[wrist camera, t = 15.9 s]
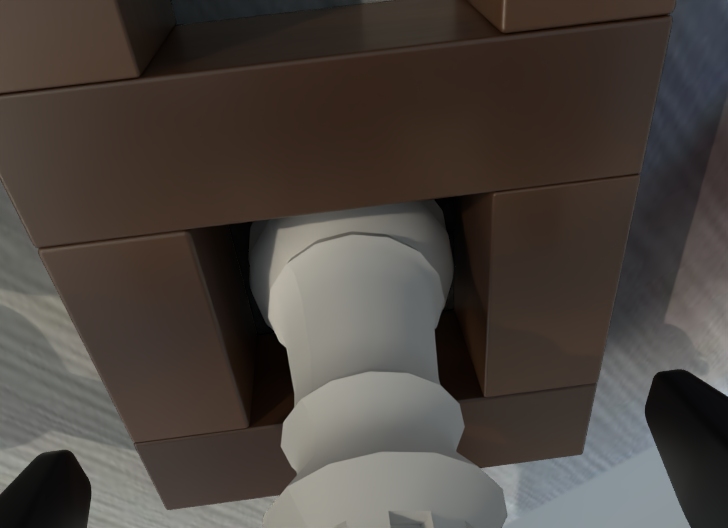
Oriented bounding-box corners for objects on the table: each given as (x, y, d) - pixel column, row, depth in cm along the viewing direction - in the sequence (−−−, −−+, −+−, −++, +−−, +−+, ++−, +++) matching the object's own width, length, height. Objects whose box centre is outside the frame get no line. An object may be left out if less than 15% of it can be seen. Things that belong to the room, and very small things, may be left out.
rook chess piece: (208, 252, 13) (125, 638, 7) (338, 106, 12) (391, 436, 5) (355, 341, 15) (397, 705, 9) (483, 227, 14) (653, 575, 7)
